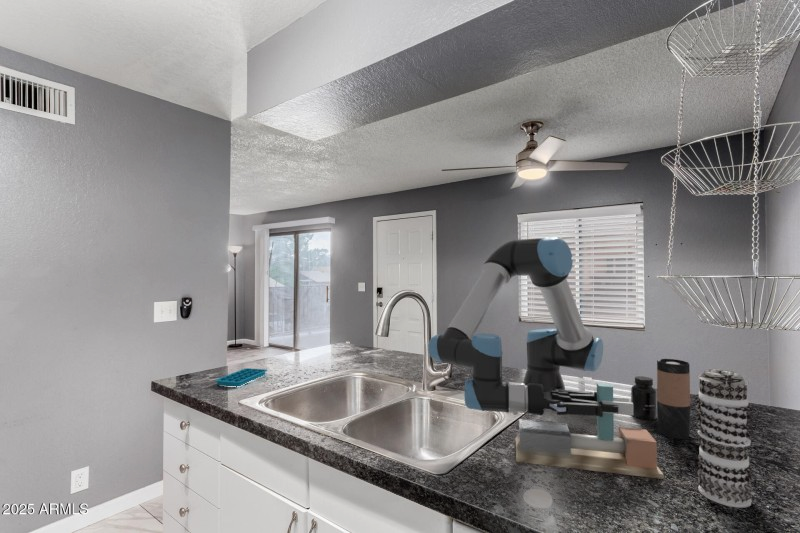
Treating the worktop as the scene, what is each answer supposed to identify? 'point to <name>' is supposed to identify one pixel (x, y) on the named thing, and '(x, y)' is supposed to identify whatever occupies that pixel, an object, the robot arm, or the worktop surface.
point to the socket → (639, 448)
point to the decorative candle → (724, 438)
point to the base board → (590, 462)
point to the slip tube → (601, 429)
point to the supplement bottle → (644, 398)
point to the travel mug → (673, 398)
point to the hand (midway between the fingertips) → (630, 406)
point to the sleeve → (544, 438)
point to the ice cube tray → (241, 377)
